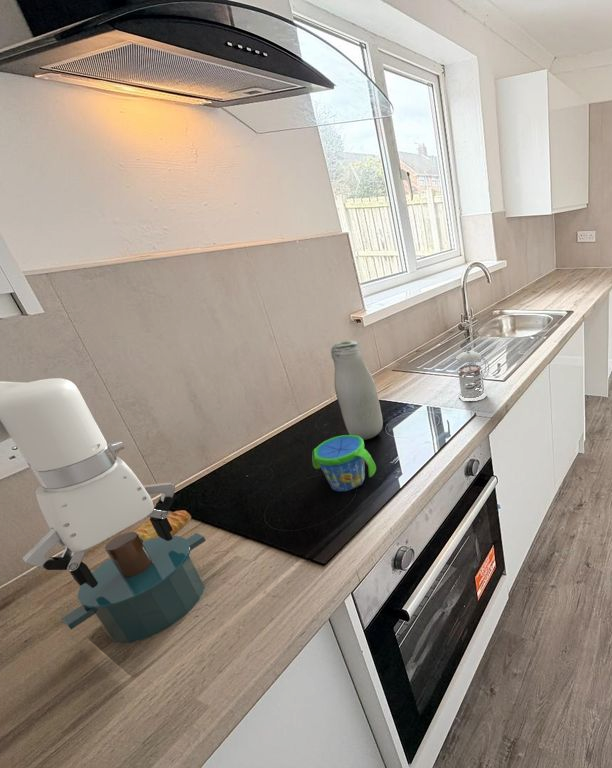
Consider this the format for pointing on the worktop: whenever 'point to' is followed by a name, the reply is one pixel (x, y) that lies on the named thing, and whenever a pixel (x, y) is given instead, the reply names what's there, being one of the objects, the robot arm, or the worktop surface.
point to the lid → (133, 569)
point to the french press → (469, 389)
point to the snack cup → (343, 461)
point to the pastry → (175, 520)
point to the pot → (149, 605)
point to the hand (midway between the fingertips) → (130, 559)
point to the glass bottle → (356, 391)
